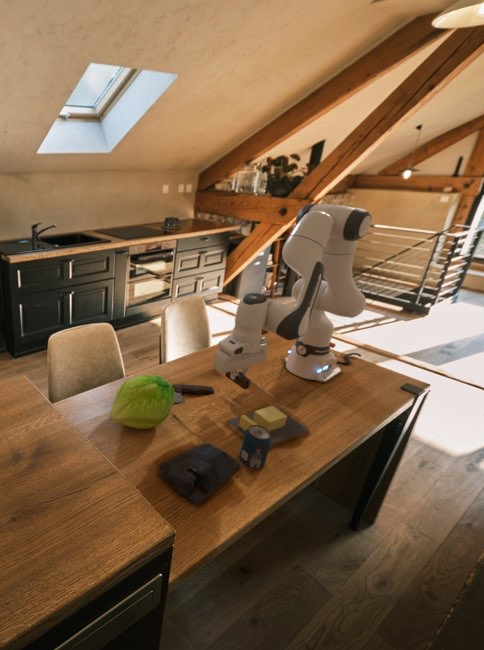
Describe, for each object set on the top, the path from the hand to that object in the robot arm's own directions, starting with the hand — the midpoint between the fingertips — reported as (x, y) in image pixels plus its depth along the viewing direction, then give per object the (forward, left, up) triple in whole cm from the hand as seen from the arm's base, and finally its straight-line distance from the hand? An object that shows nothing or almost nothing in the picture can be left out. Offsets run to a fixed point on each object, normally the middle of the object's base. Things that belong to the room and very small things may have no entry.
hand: (237, 377), depth 131 cm
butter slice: (+5, +12, -12) cm, 18 cm away
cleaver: (+13, -14, -14) cm, 24 cm away
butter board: (-4, +13, -13) cm, 19 cm away
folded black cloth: (+29, +19, -14) cm, 38 cm away
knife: (0, +5, -2) cm, 5 cm away
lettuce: (+34, -6, -14) cm, 37 cm away
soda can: (+13, +22, -14) cm, 29 cm away
